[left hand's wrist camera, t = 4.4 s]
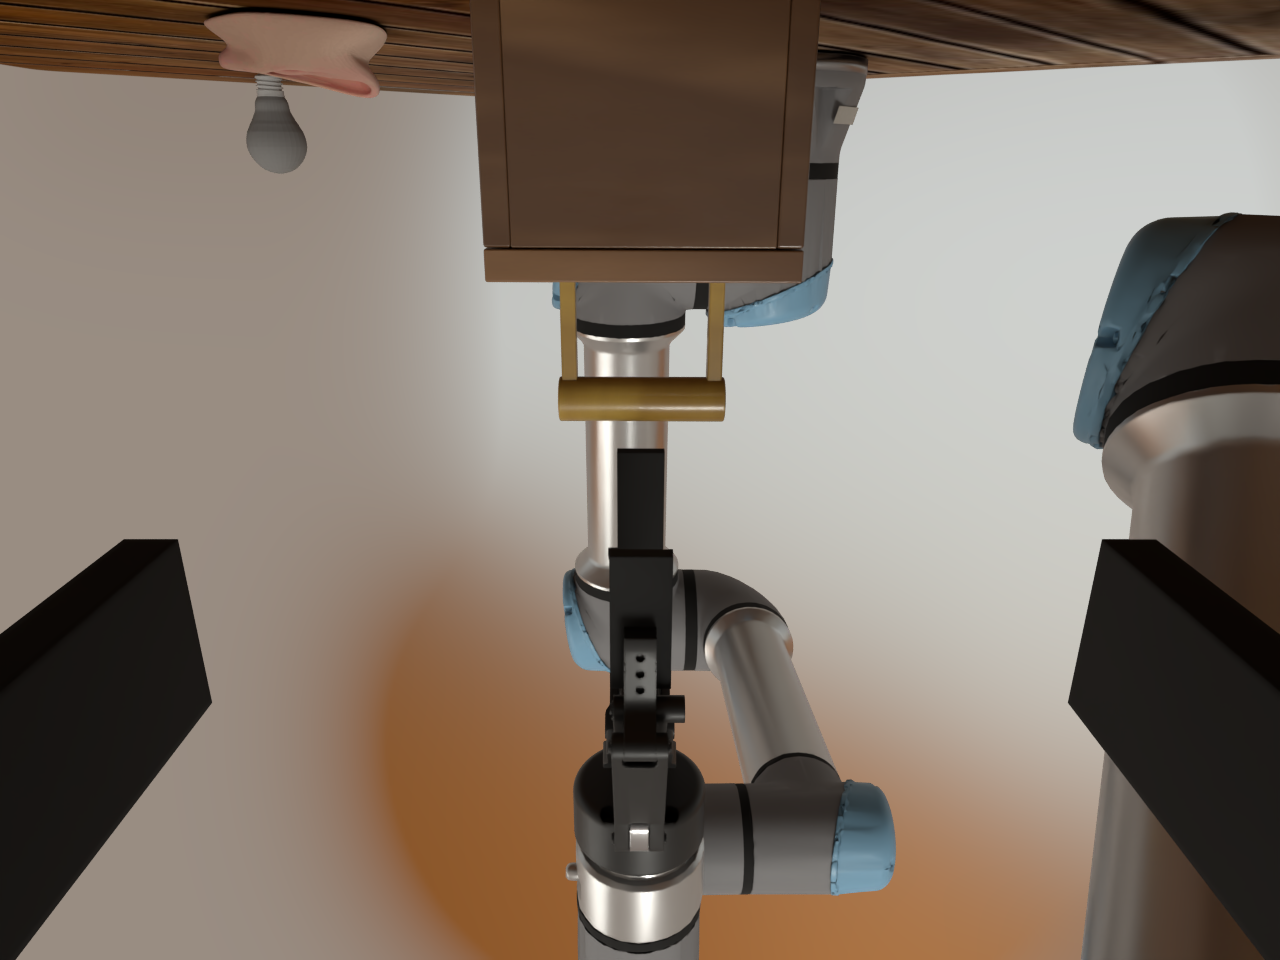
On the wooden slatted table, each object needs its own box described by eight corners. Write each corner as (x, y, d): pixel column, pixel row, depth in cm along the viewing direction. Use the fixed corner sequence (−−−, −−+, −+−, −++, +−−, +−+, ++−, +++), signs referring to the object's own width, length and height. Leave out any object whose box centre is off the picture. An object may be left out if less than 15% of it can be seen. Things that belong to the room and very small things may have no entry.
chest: (766, -47, 37) (753, 219, 41) (521, -48, 37) (531, 217, 41) (831, -148, 24) (804, 249, 28) (460, -150, 24) (483, 247, 28)
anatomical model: (205, 83, 52) (405, 88, 55) (193, 7, 50) (399, 18, 54) (223, 95, 63) (387, 99, 67) (214, 34, 62) (382, 41, 66)
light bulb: (287, 69, 88) (300, 174, 92) (305, 74, 94) (317, 172, 98) (227, 68, 88) (242, 174, 92) (248, 73, 94) (262, 172, 97)
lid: (752, 219, 41) (743, 405, 45) (532, 217, 41) (539, 404, 45) (804, 250, 28) (786, 511, 31) (483, 249, 28) (498, 509, 31)
